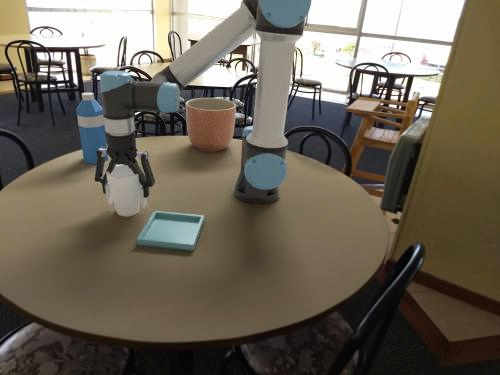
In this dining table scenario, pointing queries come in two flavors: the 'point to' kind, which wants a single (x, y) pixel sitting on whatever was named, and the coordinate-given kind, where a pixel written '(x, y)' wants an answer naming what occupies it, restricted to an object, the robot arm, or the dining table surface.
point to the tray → (171, 231)
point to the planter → (210, 123)
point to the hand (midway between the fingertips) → (127, 204)
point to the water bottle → (91, 127)
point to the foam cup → (124, 190)
